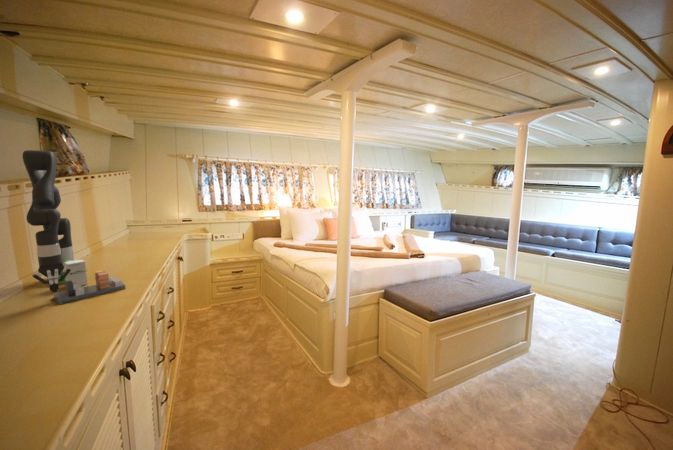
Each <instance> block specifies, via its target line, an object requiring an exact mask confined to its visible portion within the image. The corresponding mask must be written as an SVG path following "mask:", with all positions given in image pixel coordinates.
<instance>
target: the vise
mask: <svg viewBox="0 0 673 450" xmlns="http://www.w3.org/2000/svg"><path fill="white" fill-rule="evenodd" d="M108 277H109V286H110V287H107V288H103V289H100V288H99V287H98V286H97V285H96V284H93V285H87V286H83V287H82V286H81V287H82V288H83V289H84V294H82V295H78V296H76V295H75V294H72V295H68V294H67V293H66V290H64V291H59V292H53V293H52V294H53V299H54V300H55V301H56V302H57V304H58V305H62V304H67V303H71V302H75V301H79V300H84V299H87V298H92V296H93V297H96V296H101V295H104V294H109V293H114V292H117V291H120V290H121V291H122V290H126V284H124V283H123V280H122V279H120V278H119V277H117V276H116V275H112V276H108Z"/></svg>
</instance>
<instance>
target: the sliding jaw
mask: <svg viewBox="0 0 673 450" xmlns="http://www.w3.org/2000/svg"><path fill="white" fill-rule="evenodd" d="M64 287H65V291H66V293H67V294H68V295H72V294H75V295H76V296H78V295H82V294H84V289H83V288H82V286H80V285H79V284H78V283H77V284H73V282H71V281H65V284H64Z"/></svg>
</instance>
